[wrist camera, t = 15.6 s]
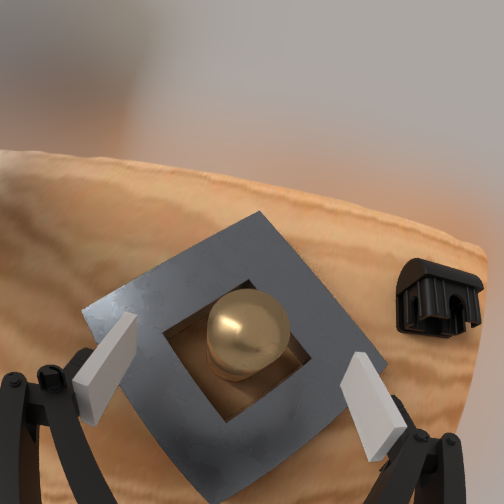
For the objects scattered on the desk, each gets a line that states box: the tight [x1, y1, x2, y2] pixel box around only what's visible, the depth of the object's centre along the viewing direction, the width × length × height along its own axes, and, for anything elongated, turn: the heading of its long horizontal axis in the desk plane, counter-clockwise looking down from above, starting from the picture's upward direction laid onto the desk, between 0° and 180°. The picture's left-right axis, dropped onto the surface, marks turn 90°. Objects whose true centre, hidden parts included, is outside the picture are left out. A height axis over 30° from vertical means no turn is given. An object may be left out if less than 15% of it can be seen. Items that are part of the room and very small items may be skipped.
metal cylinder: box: [207, 289, 290, 381], centre depth 22 cm, size 5×5×10 cm
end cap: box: [396, 258, 484, 338], centre depth 28 cm, size 10×7×7 cm
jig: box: [81, 211, 388, 504], centre depth 25 cm, size 20×20×3 cm
